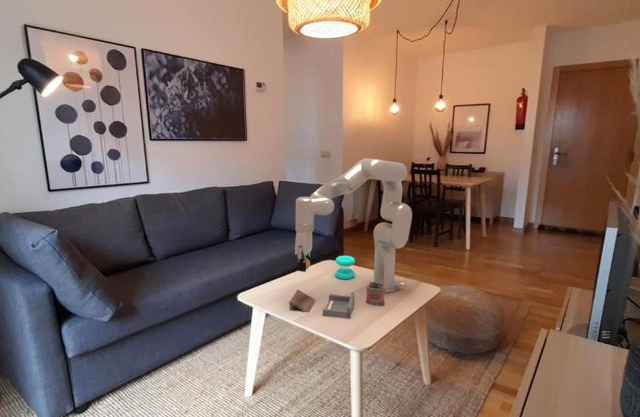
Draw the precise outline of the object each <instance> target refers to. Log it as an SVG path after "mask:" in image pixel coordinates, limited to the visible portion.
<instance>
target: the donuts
mask: <svg viewBox="0 0 640 417" xmlns="http://www.w3.org/2000/svg"><path fill="white" fill-rule="evenodd" d="M335 263H336V264H337V265H338V266H341V267H340V268H338V269H337V270H336V271H335V277H337V278H338V279H341V280H350V279H352V278H354V277H355V276H356V275H355V274H356V272H355V271H354V270H353V269H352V268H349V267H351V266H353V265H355V263H356V259H355V258H354V257H353V256H351V255H339V256H338V257H336V258H335Z"/></svg>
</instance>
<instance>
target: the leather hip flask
mask: <svg viewBox="0 0 640 417" xmlns="http://www.w3.org/2000/svg"><path fill="white" fill-rule="evenodd" d="M373 281H374V280H373ZM373 281H369V282H368V285H366V286H365V287H366V298H365V299H366V300H365V303H366V304H367V305H372V306H377V307H378V306H379V307H384V306H385V288H384V287H381V286H384V283H381V282H377V281H374V282H373Z"/></svg>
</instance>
